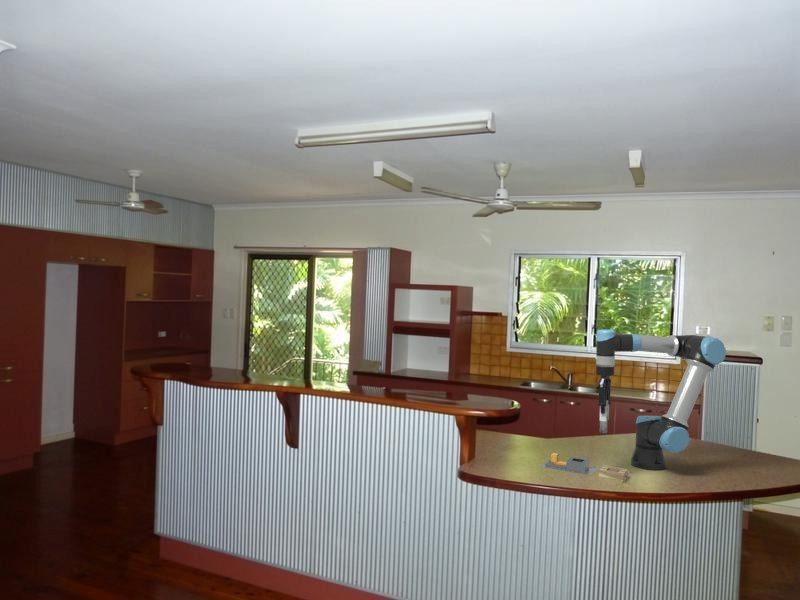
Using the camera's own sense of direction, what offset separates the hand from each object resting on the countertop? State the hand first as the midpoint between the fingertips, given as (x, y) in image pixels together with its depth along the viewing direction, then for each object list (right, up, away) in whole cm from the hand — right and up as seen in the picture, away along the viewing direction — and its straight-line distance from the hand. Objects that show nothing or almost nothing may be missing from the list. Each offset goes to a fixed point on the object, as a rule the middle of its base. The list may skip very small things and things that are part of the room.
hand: (604, 420), depth 264 cm
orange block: (-16, -22, +9) cm, 29 cm away
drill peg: (0, -5, 0) cm, 5 cm away
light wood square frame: (+3, -24, -2) cm, 25 cm away
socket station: (-13, -24, +7) cm, 28 cm away
